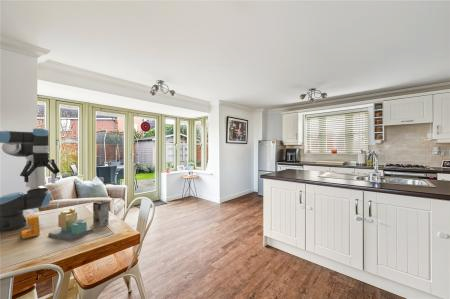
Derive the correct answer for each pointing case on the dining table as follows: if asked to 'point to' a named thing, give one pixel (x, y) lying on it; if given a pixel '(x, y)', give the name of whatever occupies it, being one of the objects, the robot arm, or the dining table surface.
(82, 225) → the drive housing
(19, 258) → the dining table surface
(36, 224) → the bracket
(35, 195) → the robot arm
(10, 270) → the dining table surface
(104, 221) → the coffee box
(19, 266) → the dining table surface
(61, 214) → the sleeve
